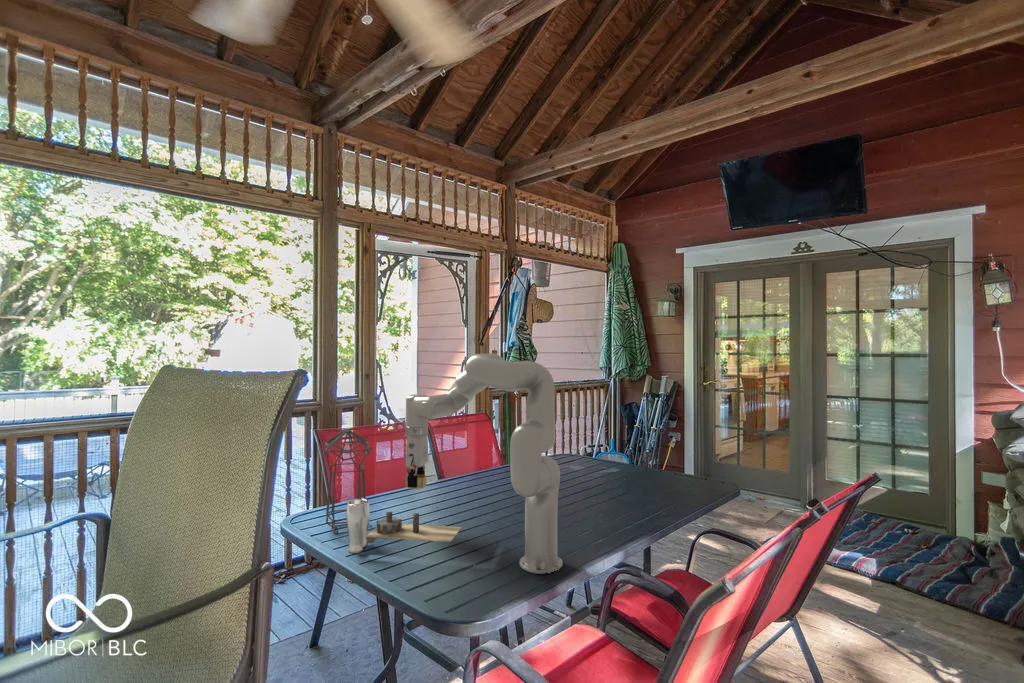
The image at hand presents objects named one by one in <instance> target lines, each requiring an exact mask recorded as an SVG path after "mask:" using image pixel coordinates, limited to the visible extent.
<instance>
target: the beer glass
mask: <svg viewBox="0 0 1024 683" xmlns="http://www.w3.org/2000/svg"><path fill="white" fill-rule="evenodd" d="M346 506H347V507H346V509H347V511H346V518H347V520H346V522H347V523H346V524H347V525H346V527H347V526H348V528H347V531H348V537H349V538H348V539H349V540H348V547H347V552H348V553H350V554H361V553H362V552H364V550H366V549H367V548H368V546H369V545H368V542H367V535H368V530H369V526H370V524H369V523H370V516H371V515H370V514H371V513H370V500H369V499H363V498H361V499H358V498H357V499H355V498H354V499H351V500H349V501H348V502H347V505H346Z"/></svg>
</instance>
